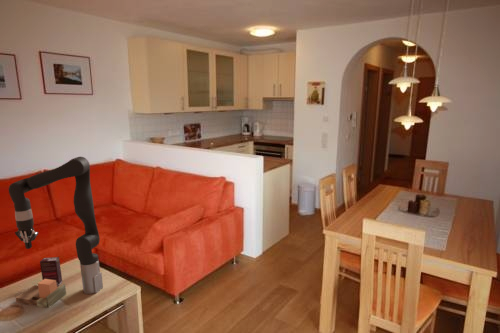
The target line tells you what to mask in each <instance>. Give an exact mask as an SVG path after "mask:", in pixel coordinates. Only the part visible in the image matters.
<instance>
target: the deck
mask: <svg viewBox="0 0 500 333" xmlns="http://www.w3.org/2000/svg"><path fill="white" fill-rule="evenodd" d="M66 295H67V288H66V284H64V283H63V284H62V285H59V286H58V287H57V289H56V290H55V291H53V292H52V293H51V294H49V295H48V296H46V298H42V297H40V296H39V289H38V284H37V285H36V284H34V285H32V286H31V287H30V288H28V289H26V290H25V291H24V292H21V294H19V295H17V296H16V297H15V301H16V302H15V303H16V304H21V303H22V305H27V306H35V307H42V308H51V307H52V306H53V305H54V304H56V303H57V302H59V301H60V300H61V299H62V298H64V297H65V296H66Z"/></svg>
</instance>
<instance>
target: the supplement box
mask: <svg viewBox="0 0 500 333" xmlns="http://www.w3.org/2000/svg"><path fill="white" fill-rule="evenodd" d="M39 265H40V272H41V279H42V280H44V279H50V280H56V284H57V287H60V286H61V284H62V282H63V278H62V277H63V276H62V270H61V263H60V257H59V256H55V257H54V256H53V257H43V258H42V259H41V260H39Z"/></svg>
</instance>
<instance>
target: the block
mask: <svg viewBox="0 0 500 333" xmlns="http://www.w3.org/2000/svg"><path fill="white" fill-rule="evenodd" d="M37 286H38V289H39V296H40V297H42V298H46V296H48V295H49V294H51V293H52V292H53V291H55V290H56V289H57V288H58V286H57V284H56V280H50V279H44V280H43V279H42V280H40V281H39V282H38V283H37Z"/></svg>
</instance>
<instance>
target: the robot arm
mask: <svg viewBox="0 0 500 333" xmlns="http://www.w3.org/2000/svg"><path fill="white" fill-rule="evenodd" d="M73 177H74V179H75V180H74V181H75V189H74V193H73V207H74V213H75V214H76V216H77V217H78V218H79V220H81V222H82V223H83V226H84V234H82V235H80V236H79V237H77V238H76V240H75V250H76V254H77V256H76V257H77V258H78V261H79V265H80V266H79V267H80V274H81V276H80V277H81V283H82V291H83V293H84V294H85V295H93V294H97V293H98V292H99V291H100V290H101V289H103V288H104V285H103V275H102V273H103V272H102V271H101V270H100V261H99V254H97V253H94V252H93V251H92V250H93V249H95V248H96V247H98V245H99V244H100V233H99V229H98V226H97V225H98V224H97V221H96V215H95V206H94V204H95V203H94V198H93V192H92V191H93V190H92V186H91V165H90V162H89V160H88V159H87V158H86V157H84V156H78V157H74V158H72V159H70V160H69V161H66V162H65V163H63V164H61V165H59V166H58V167H56V168H53V169H49V170H45V171H43V172H39V173H37V174H33V175H31V176H29V177H25V178H23V179H20V180H17V181H15V182H12V183H10V185H9V186H8V194H9V197H10V198H11V201H12V202H13V207H14V218H15V223H16V224H15V225H16V228H17V231H15V232H14V234H15V236H17V238H18V239H19V240H20V241H21V242H23V243H24V247H25V249H26V250H30V249H32V247H33V245H32V242H33V241H36V238H37V237H38V235H39V232H38V231H35V228H34V224H35V221H34V215H33V211H32V205H31V201H30V199H29V198H28V197H26V195H25V194H26V193H28V192H30V191H32V190H37V189H40V188H43V187H45V186H48V185H50V184H53V183H55V182H58V181H60V180H64V179H68V178H73Z"/></svg>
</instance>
